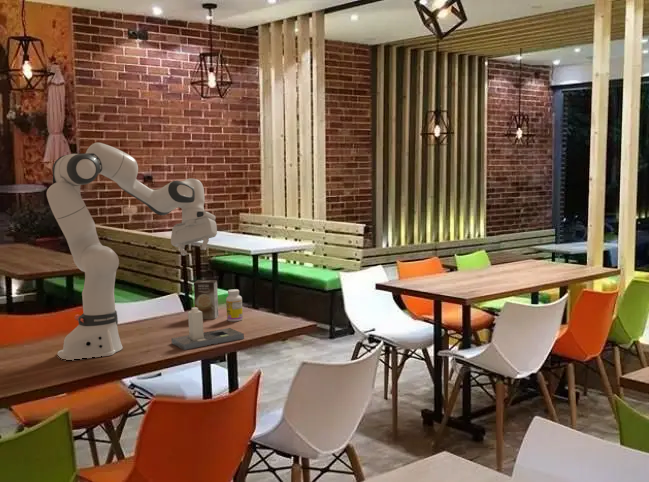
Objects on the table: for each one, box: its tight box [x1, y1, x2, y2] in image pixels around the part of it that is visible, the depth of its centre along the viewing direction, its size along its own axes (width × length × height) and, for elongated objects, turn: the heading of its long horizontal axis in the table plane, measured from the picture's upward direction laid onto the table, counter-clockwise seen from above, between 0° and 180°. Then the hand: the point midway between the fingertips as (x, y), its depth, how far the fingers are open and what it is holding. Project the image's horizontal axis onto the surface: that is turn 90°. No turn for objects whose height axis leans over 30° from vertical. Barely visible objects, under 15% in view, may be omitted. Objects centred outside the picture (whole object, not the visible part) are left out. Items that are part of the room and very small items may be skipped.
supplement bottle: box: [225, 288, 244, 323], centre depth 298 cm, size 7×7×13 cm
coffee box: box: [193, 279, 219, 320], centre depth 305 cm, size 9×6×16 cm
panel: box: [171, 327, 245, 351], centre depth 265 cm, size 24×12×2 cm, turn 123°
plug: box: [187, 306, 204, 341], centre depth 262 cm, size 4×4×13 cm
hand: (193, 252), depth 272 cm, fingers open, 8 cm apart
